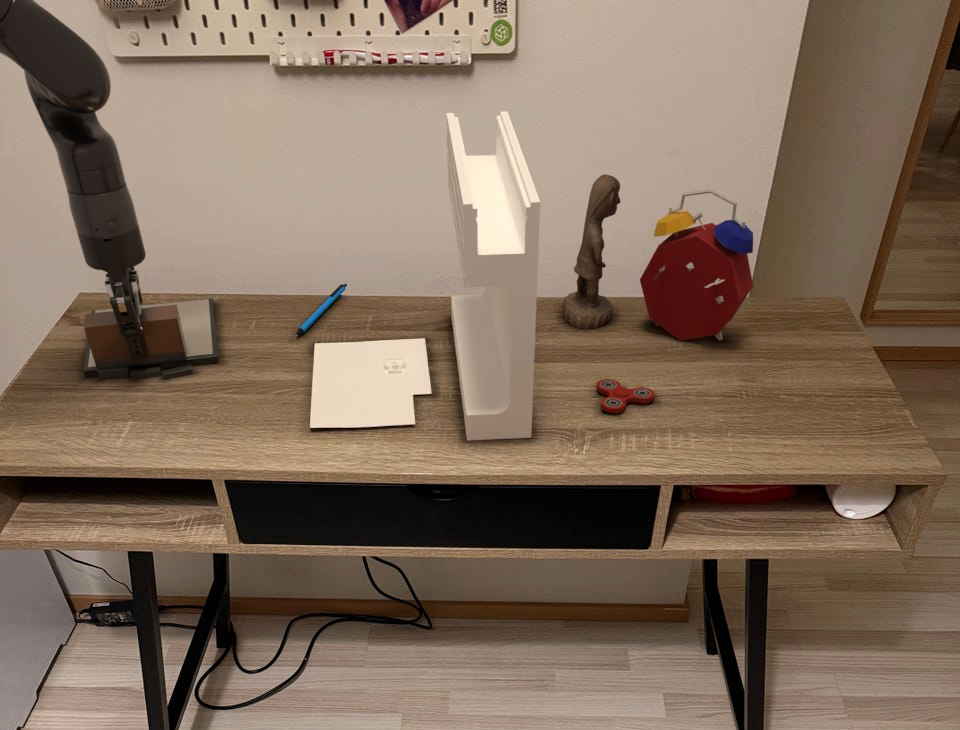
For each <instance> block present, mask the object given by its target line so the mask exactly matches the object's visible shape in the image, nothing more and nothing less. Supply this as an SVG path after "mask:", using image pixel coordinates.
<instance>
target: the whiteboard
mask: <svg viewBox="0 0 960 730" xmlns="http://www.w3.org/2000/svg"><path fill="white" fill-rule="evenodd" d="M168 305H177V308H178V312H179V316H180V321H181V325H182V329H183V333H184V338H185V342H186V352H187V359H185V360H176V361H167V362H158V363H150V364H141V365H132V366H128V369H129V372H130V370H135V369H144V368H153V367H160V368H161V370H167V369H173V368H178V367H183V366H187V365H191V367H192V366H201V365H209V364H219V362H220V359H219V358H220V357H219V347H218V335H217V325H216V313H215V303H214V298H203V299H193V300H183V301H182V300H181V301H173V302H164V303H153V304H142V305H141V306H142V308H148V307H158V306H168ZM109 311H113V309H112V308H103V309H94V310H91V313H100V312H109ZM123 367H124V366H123ZM114 368H115V367H114ZM97 371H98V369H97V368H96V365H95V361H94V358H93V355H92V352H91V349H90V345H89V342H88V341H87V344H86V351H85V358H84V365H83V374H84V377H85V378H92V377H99V376H98V372H97Z"/></svg>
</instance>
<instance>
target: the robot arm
mask: <svg viewBox="0 0 960 730" xmlns="http://www.w3.org/2000/svg"><path fill="white" fill-rule="evenodd" d="M0 54H1V55H3V56H4V57H6V58H8V59H10V60H11V61H13V62H14V63H15V64H16V65H17V66H18V67H20V68H21V69H22V70H23V74H24V79H25V83H26V87H27V90H28V91H29V94H30V95H29V96H30V98H31V100H32V102H33V104H34V107H35V109H36V111H37V114H38V115H39V118H40V120H41V122H42V124H43V126H44V129H45V131H46V133H47V134H48V137H49V138H50V140H51V142H52V145H53V147H54V149H55V152H56V156H57V160H58V164H59V168H60V171H61V175H62V178H63V181H64V184H65V188H66V192H67V196H68V204H69V209H70V213H71V217H72V220H73V224H74V227H75V230H76V231H75V232H76V234H77V238H78V240H79V241H78V242H79V244H80V248H81V251H82V254H83V257H84V262H85V263H86V265H87V266H88V267H90V268H91V269H93V270H96V271H103V272H106V273H105V278H106V280H104V286H105V291H106V293H107V295H108V296H109V304H110V306H111V309H113V312H114V315H115V318H116V321H117V324H118V327H119V330H120V334H121V336H122V337H126V341H127V344H128V348H129V351H130V355H131V358H132V360H134V361H139V360H146V359H147V358H148V352H147V348H146V344H145V340H144V336H143V327H142V326H141V322H140V318H139V315H140V314H141V313H142V309H141V308H142V305H143V294H142V290H141V287H140V277H139V274H138V270H136V269H135V267H137V266H138V265H140V264H142V262H144V261H145V258H146V255H147V253H146V249H145V246H144V241H143V237H142V233H141V229H140V225H139V221H138V217H137V212H136V209H135V205H134V200H133V198H132V195H131V193H130V190H129V188H128V185H127V184H128V183H127V181H126V177H125V171H124V168H123V165H122V161H121V157H120V153H119V149H118V147H117V143H116V141H115V139H114V137H113V136H112V135H111V133H110V132H108V131H107V130H106V129H105V128H104V127H103V126H102V124H101V122H100V120H99V118H98V116H97V113H96V112H98V111H100V110H101V109H103V108H104V106H106V104H107V103H108V101H109V98H110V96H111V92H112V91H111V90H112V83H111V76H110V73H109V70H108V68H107V65H106V64H105V62H104V60H103V59H102V58H101V56H100V55H99V54H98V52H97V51H96V50H95V49H94V48H93V46H91V45H90V44H89V43H88V42H87V41H86V40H85V39H83V38H82V37H81V36H79V34H77V33H76V32H75V31H74V30H73V29H71V28H70V27H69V26H68V25H66V24H65V23H63V21H61V20H60V19H59V18H57V17H56V16H55V15H54V14H52V13H51V12H49V10H47V9H46V8H44V7H43V6H41V5H40V4H39V3H37V2H36V1H35V0H0ZM129 322H132V323H134V325H127V326H126V324H125V323H129Z"/></svg>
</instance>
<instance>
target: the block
mask: <svg viewBox="0 0 960 730" xmlns="http://www.w3.org/2000/svg"><path fill="white" fill-rule="evenodd" d="M445 115H446V116H445V118H446V144H447V145H446V148H447V153H446V155H447V172H448V174H447V185H448V192H449V199H450V204H451V211H452V216H453V223H454V229H455V236H456V242H457V250H458V255H459V261H460V268H461V274H462V279H463V286H464V289H465V288H484V289H483V291H482V292H480V293H479V294H475V295H452V296H450V302H451V303H450V304H451V305H450V307H451V309H450V310H451V324H452V333H453V340H454V349H455V356H456V364H457V372H458V379H459V381H458V382H459V387H460V395H461V402H462V405H461V406H462V413H463V419H464V427H465V434H466V441H485V440H505V439H506V440H507V439H508V440H509V439H529V438H532V433H533V431H532V429H533V407H534V405H533V403H534V402H533V401H534V379H535V376H534V375H535V355H536V354H535V353H536V351H535V350H536V329H537V328H536V325H537V324H536V321H537V302H538V300H537V299H538V298H537V297H538V276H539V273H538V272H539V271H538V270H539V248H540V247H539V245H540V222H541V221H540V219H541V200H540V198H539V195H538V191H537V188H536V186H535V184H534V181H533V178H532V175H531V172H530V170H529V167H528V164H527V161H526V158H525V156H524V153H523V151H522V147H521V145H520V142H519V139H518V137H517V133H516V131H515V128H514V125H513V122H512V120H511V118H510V114H509V112H508V111H499V115H496V116H495V117H496V118H495V122H496V128H495V154H486V155H482V154H481V155H467V154H466V153H467V152H466V149H465V145H464V141H463V140H464V139H463V136H462V131H461V126H460V122H459V121H460V120H459V117H458V116H455V113H454V112H446V113H445Z"/></svg>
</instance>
